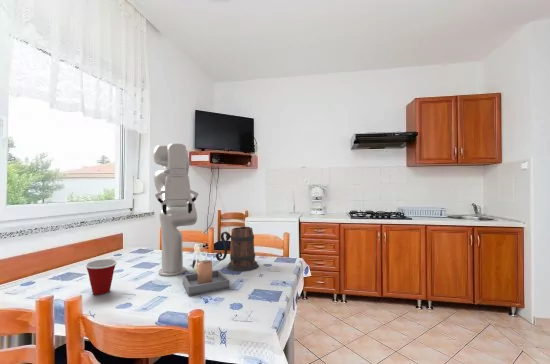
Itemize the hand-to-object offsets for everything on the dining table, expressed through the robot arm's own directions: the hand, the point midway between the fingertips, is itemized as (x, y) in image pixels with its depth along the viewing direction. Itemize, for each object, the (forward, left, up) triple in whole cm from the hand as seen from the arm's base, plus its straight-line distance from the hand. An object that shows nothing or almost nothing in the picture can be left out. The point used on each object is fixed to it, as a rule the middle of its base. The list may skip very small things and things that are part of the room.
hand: (177, 213), depth 116 cm
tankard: (-15, +31, -31) cm, 46 cm away
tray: (+6, +10, -30) cm, 32 cm away
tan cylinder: (+6, +10, -29) cm, 32 cm away
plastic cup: (-7, -28, -31) cm, 42 cm away
